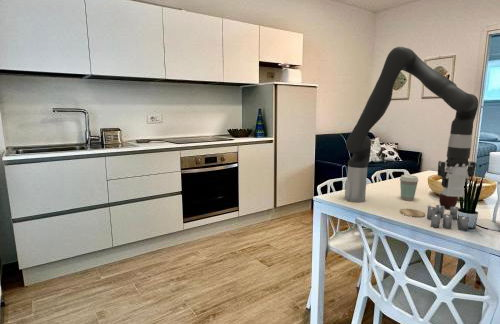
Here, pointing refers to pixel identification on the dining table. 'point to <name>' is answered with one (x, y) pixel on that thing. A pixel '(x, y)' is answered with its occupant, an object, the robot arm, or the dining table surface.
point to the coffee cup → (408, 187)
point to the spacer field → (447, 218)
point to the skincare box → (456, 182)
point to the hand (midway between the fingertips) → (453, 187)
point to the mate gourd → (447, 200)
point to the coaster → (412, 212)
